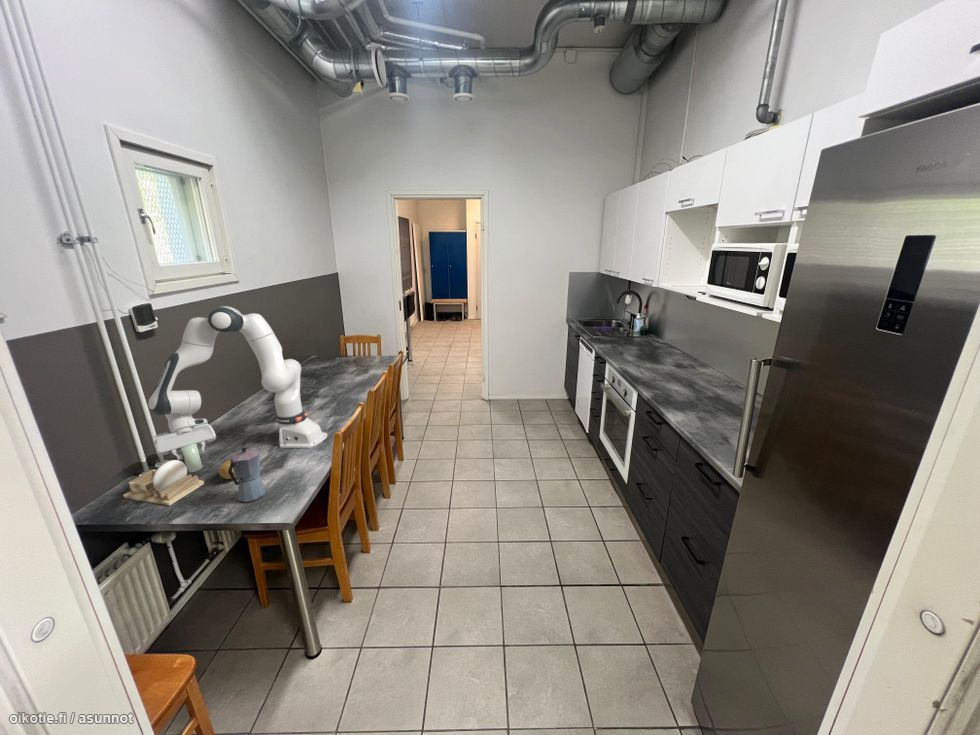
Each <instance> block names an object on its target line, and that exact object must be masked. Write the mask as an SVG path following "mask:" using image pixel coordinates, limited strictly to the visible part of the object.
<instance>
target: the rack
mask: <svg viewBox="0 0 980 735" xmlns="http://www.w3.org/2000/svg"><path fill="white" fill-rule="evenodd" d="M127 483H128V487H129V490H130V491H128V492H127V493H124V494H123V497H124V499H131V500H135V501H141V502H148V503H151V504H152V503H153V504H157V505H158V504H159V505H165V506H171V505H173V504H174V503H176V502H178V501H179V500H181V499H182V498H184V497H185V496H187V495H189V494H190V493H192V492H194V491H195V490H197V489H198V488H200V487H201V486H203V485H204V484H205V481H204V480H201V479H200V478H199V477H198V475H194V476H193V475H192V474H191V473H190V474H188V470H187V467H186V463H185V462H183V461H182V460H179V461H178V459H171V460H167V461H165V462H163V463H162V464H160V465H159V467H157V468H156V469H151V470H150V471H149V470H148V471H147V472H145V473H143V474H141V475H140V476H138V477H136V478H134V479H132V480H130V481H128V482H127Z"/></svg>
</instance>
